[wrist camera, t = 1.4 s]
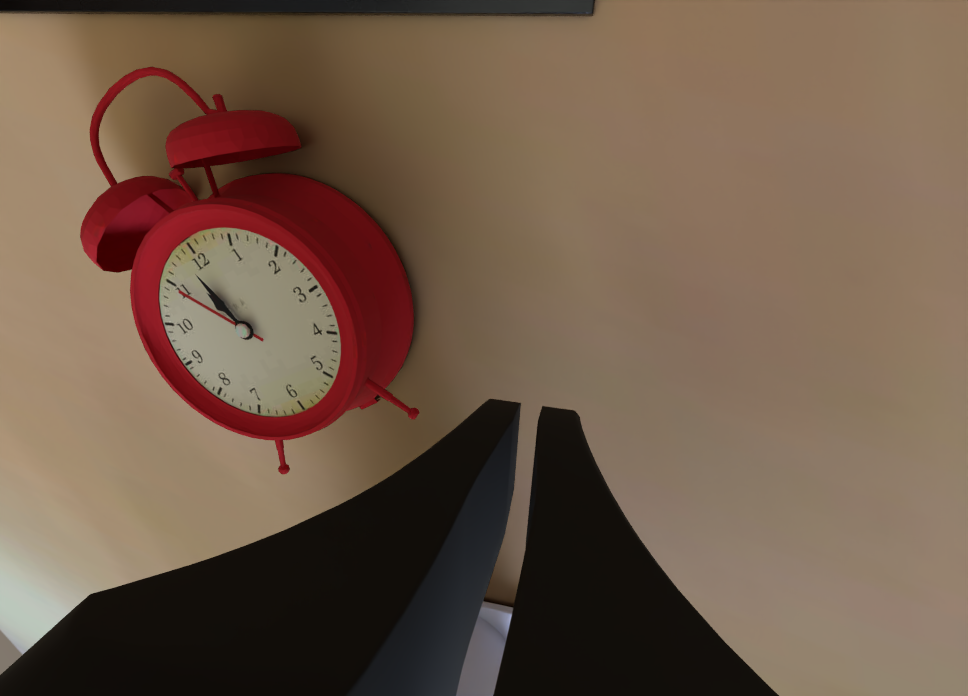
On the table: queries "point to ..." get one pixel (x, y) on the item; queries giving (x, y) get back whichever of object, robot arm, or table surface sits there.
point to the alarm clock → (253, 279)
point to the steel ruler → (307, 7)
